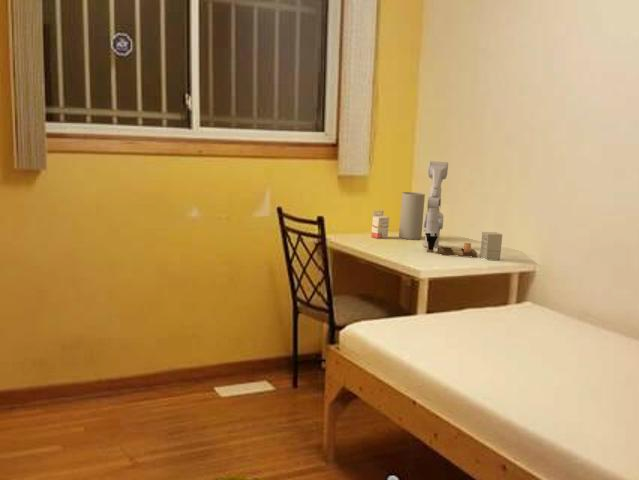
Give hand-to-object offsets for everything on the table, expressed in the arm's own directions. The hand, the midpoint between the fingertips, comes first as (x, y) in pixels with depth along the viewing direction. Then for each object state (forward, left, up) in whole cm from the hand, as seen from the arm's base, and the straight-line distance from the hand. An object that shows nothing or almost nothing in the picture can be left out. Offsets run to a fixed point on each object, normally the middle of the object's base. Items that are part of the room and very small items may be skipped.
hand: (430, 248), depth 335 cm
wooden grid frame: (+1, +13, -2) cm, 13 cm away
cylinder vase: (-42, -8, -2) cm, 43 cm away
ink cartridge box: (-36, -25, -2) cm, 44 cm away
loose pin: (0, 0, -2) cm, 2 cm away
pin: (+4, +18, -2) cm, 18 cm away
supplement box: (+8, +28, -2) cm, 29 cm away
